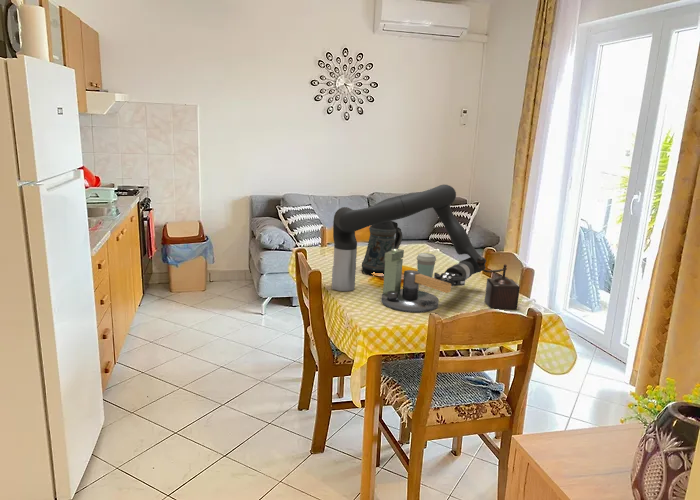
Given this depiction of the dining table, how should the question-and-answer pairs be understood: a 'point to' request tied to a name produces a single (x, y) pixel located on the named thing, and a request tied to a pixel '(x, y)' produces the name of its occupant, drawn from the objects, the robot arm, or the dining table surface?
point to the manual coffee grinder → (500, 289)
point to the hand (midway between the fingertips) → (440, 284)
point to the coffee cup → (426, 263)
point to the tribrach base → (394, 292)
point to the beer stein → (380, 246)
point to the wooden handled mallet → (415, 278)
